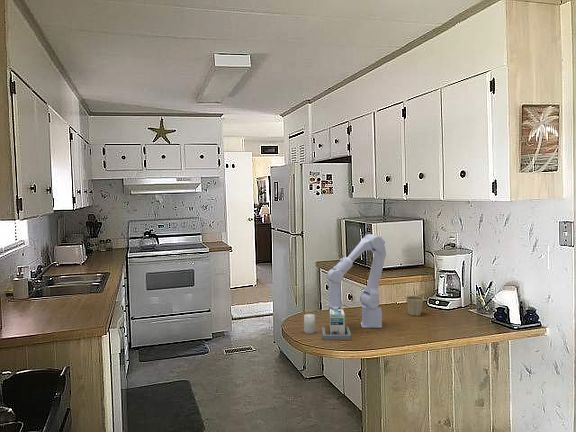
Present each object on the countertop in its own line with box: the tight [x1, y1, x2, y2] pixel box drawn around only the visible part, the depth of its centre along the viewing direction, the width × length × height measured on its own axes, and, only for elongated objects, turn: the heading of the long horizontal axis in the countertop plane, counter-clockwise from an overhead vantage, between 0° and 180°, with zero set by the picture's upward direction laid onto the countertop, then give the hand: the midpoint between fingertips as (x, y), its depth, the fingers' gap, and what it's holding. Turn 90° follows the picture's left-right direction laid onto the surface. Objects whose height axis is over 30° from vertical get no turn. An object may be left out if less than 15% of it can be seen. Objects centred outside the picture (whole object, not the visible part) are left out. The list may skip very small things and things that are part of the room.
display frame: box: [321, 326, 352, 341], centre depth 229 cm, size 12×13×2 cm
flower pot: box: [405, 295, 425, 317], centre depth 263 cm, size 9×9×9 cm
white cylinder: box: [303, 313, 316, 335], centre depth 235 cm, size 5×5×8 cm
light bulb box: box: [329, 307, 346, 335], centre depth 231 cm, size 11×7×11 cm, turn 177°
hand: (334, 323), depth 239 cm, fingers closed
